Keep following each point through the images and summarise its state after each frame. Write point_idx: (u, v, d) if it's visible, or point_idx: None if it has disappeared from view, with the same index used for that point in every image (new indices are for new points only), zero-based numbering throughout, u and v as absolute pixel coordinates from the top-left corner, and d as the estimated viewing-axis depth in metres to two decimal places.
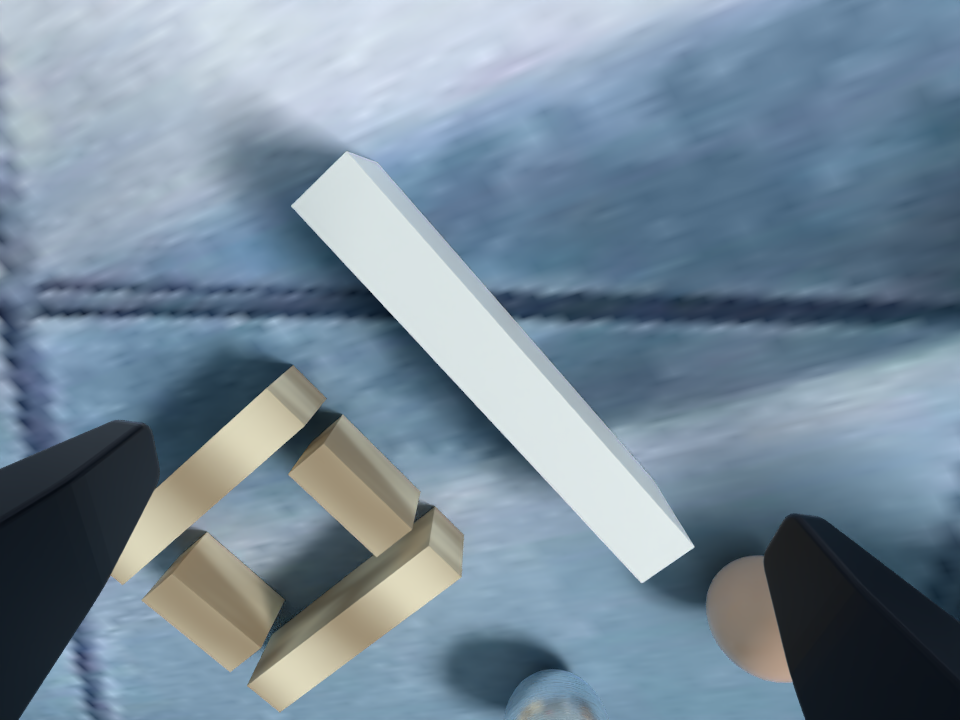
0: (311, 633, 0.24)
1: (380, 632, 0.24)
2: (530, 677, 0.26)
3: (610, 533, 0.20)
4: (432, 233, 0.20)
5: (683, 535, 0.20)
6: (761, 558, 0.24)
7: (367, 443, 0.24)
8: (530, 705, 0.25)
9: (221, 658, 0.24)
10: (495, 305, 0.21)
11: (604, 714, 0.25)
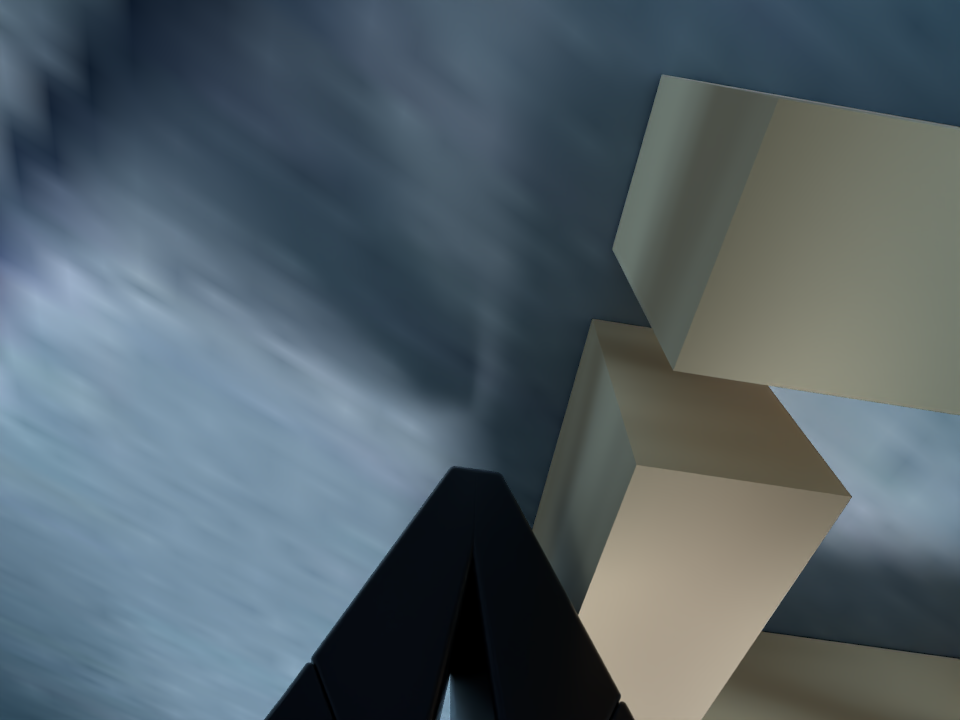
0: None
1: None
2: None
3: None
4: None
5: None
6: None
7: None
8: None
9: None
10: None
11: None
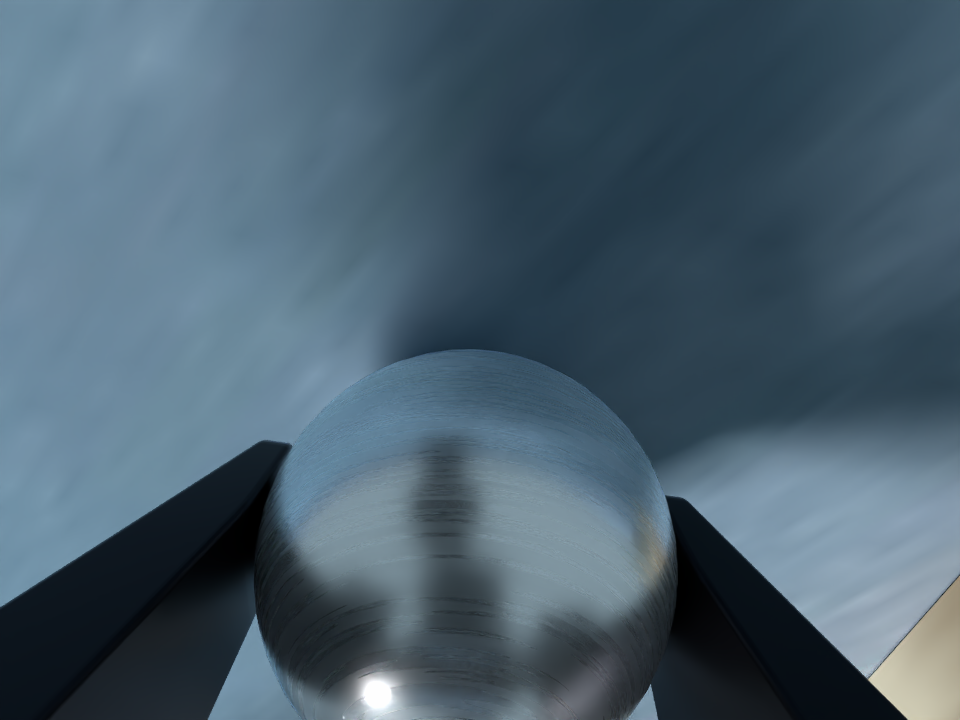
0: None
1: None
2: None
3: None
4: None
5: None
6: None
7: None
8: None
9: None
10: None
11: None
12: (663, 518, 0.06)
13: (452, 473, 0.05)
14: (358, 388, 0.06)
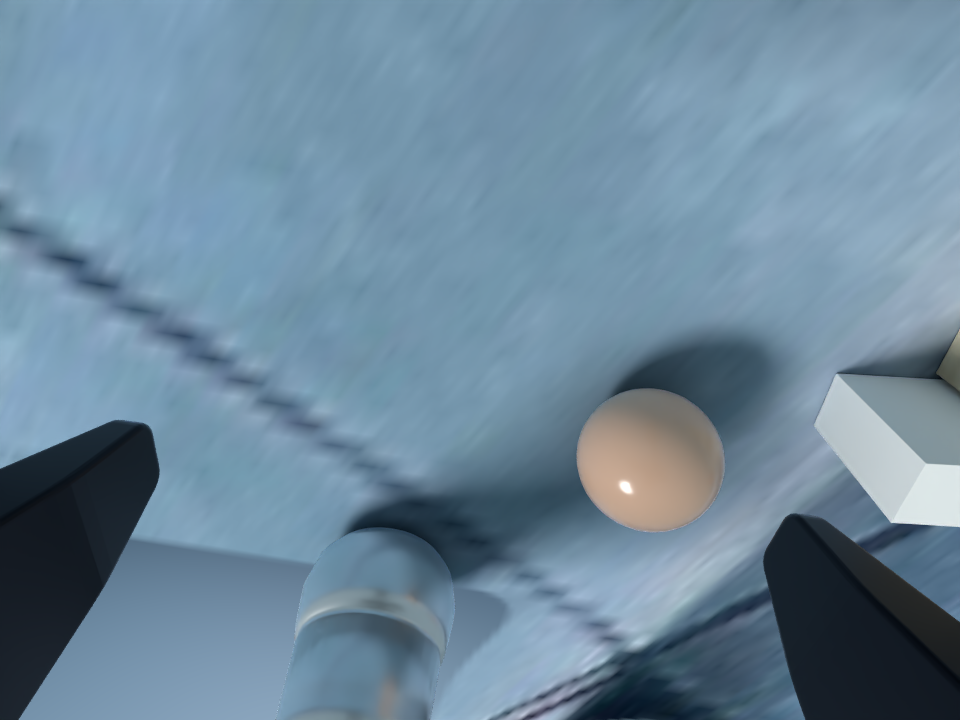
0: None
1: None
2: None
3: None
4: None
5: (911, 522, 0.17)
6: None
7: None
8: None
9: None
10: None
11: None
12: None
13: None
14: None
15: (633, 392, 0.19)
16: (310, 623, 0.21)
